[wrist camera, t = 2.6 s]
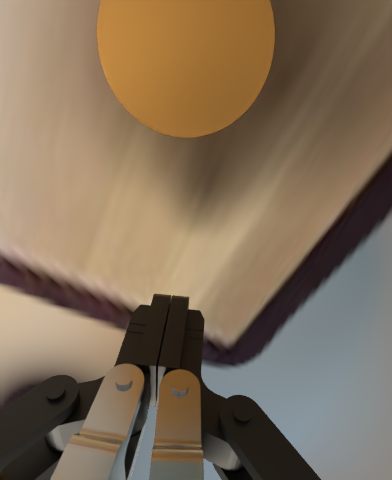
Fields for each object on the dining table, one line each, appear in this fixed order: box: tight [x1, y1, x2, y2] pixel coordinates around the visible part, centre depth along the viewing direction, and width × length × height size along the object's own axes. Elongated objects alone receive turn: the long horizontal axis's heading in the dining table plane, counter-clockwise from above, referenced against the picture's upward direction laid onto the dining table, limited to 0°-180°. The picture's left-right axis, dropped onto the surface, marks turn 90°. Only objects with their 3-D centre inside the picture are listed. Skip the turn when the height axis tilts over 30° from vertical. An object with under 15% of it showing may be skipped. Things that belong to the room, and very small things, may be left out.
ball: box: [97, 0, 275, 138], centre depth 10 cm, size 5×5×5 cm
